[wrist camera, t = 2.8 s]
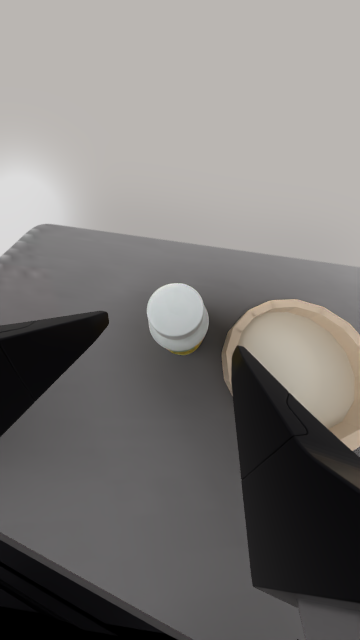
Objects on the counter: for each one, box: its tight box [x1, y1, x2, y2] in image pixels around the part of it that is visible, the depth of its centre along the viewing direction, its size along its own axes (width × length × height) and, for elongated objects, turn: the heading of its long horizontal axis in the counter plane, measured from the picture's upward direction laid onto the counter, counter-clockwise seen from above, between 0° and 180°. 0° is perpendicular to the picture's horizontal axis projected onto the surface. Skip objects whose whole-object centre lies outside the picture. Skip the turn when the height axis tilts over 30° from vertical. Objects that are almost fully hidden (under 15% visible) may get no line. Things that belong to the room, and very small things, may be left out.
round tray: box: [221, 299, 360, 451], centre depth 16 cm, size 15×15×2 cm
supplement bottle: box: [147, 283, 209, 355], centre depth 14 cm, size 5×5×10 cm
